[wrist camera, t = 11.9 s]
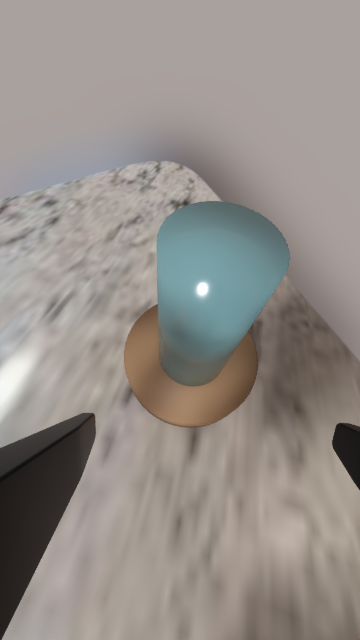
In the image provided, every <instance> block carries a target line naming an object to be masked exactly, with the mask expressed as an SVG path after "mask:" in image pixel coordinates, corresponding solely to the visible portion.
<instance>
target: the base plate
mask: <svg viewBox="0 0 360 640" xmlns="http://www.w3.org/2000/svg"><path fill="white" fill-rule="evenodd" d="M124 364H125V370H126V374H127V378H128V380H129V383H130V385H131V388H132V390H133V392H134V394H135V396H136V398H137V399H138V401H139V402H140V403H141V404H142V406H143V407H144V408H145V409H146V410H147V411H148V412H149V413H151V414H152V415H154V416H155V417H156V418H158V419H160V420H162V421H164V422H166V423H169V424H172V425H176V426H180V427H201V426H206V425H210V424H212V423H215V422H217V421H219V420H221V419H223V418H224V417H226V416H227V415H228V414H230V413H231V412H232V411H234V410H235V409H236V408H238V407H239V406H240V405H241V404H242V403H243V402H244V400H245V399H246V398H247V396H248V395H249V393H250V391H251V389H252V387H253V385H254V382H255V379H256V375H257V369H258V359H257V351H256V347H255V344H254V341H253V339H252V336H251V335H250V333H249V331H248V332H247V333H246V335H245V336H244V338H243V339H242V341H241V342H240V344H239V345H238V347H237V348H236V350H235V351H234V353H233V354H232V356H231V357H230V359H229V360H228V362H227V363H226V365H225V367H224V368H223V370H222V371H221V373H220V374H219V375H218V376H217V377H216V378H215V379H214V380H213V381H211V382H210V383H208V384H205V385H202V386H194V387H193V386H185V385H182V384H179V383H177V382H175V381H174V380H172V379H171V378H170V377H169V376H168V375H167V374H166V373H165V372H164V370H163V368H162V366H161V364H160V361H159V348H158V304H157V305H155V306H153V307H152V308H150V309H149V310H147V311H146V312H145V313H144V314H143V315H142V316H141V317H140V318H139V319H138V320H137V321H136V322H135V324H134V325H133V327H132V329H131V331H130V333H129V335H128V338H127V341H126V344H125V350H124Z"/></svg>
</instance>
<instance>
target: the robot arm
mask: <svg viewBox="0 0 360 640" xmlns="http://www.w3.org/2000/svg"><path fill="white" fill-rule="evenodd" d="M95 435H96V427H95V415H94V414H93V413H82V414H80V415H77V416H75V417H73V418H70V419H68V420H65V421H63V422H61V423H58V424H56V425H54V426H51V427H49V428H47V429H44V430H42V431H40V432H37V433H35V434H33V435H30V436H28V437H25V438H23V439H21V440H18V441H16V442H14V443H11V444H9V445H7V446H4V447H2V448H0V640H2V638H3V636H4V633H5V631H6V629H7V627H8V625H9V623H10V621H11V619H12V617H13V615H14V613H15V611H16V609H17V607H18V605H19V603H20V601H21V599H22V597H23V595H24V593H25V591H26V589H27V587H28V585H29V583H30V581H31V579H32V577H33V575H34V573H35V570H36V568H37V566H38V564H39V562H40V560H41V558H42V556H43V554H44V552H45V550H46V548H47V546H48V544H49V542H50V540H51V538H52V536H53V534H54V532H55V530H56V528H57V526H58V524H59V522H60V520H61V518H62V516H63V514H64V512H65V510H66V507H67V505H68V503H69V501H70V499H71V497H72V495H73V493H74V491H75V489H76V487H77V485H78V483H79V481H80V479H81V477H82V474H83V471H84V469H85V466H86V463H87V460H88V457H89V455H90V452H91V449H92V446H93V443H94V440H95ZM332 445H333V449H334V451H335V452H336V454H337V455H338V457H339V459H340V460H341V462H342V464H343V465H344V467H345V468H346V470H347V472H348V473H349V475H350V476H351V478H352V480H353V481H354V483H355V484H356V486H357V487H358V489H359V490H360V427H358V426H355V425H352V424H349V423H338V424H337V425H336V428H335V432H334V436H333V440H332Z"/></svg>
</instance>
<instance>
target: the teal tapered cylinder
mask: <svg viewBox="0 0 360 640" xmlns="http://www.w3.org/2000/svg"><path fill="white" fill-rule="evenodd" d="M289 259H290V257H289V249H288V245H287V243H286V240H285V238H284V237H283V235H282V233H281V232H280V231H279V230H278V228H277V227H276V226H275V225H274V224H273V223H272V222H270V221H269V220H268V219H267V218H265V217H264V216H262V215H261V214H259V213H257V212H255V211H253V210H251V209H249V208H246V207H244V206H241V205H237V204H233V203H228V202H219V201H207V202H199V203H194V204H190V205H187V206H184V207H182V208H180V209H178V210H176V211H175V212H173V213H172V214H171V215H170V216H169V217H167V218H166V220H165V221H164V222H163V224H162V225H161V227H160V229H159V232H158V235H157V287H158V348H159V361H160V364H161V366H162V368H163V370H164V372H165V373H166V374H167V375H168V376H169V377H170V378H171V379H172V380H174V381H175V382H177V383H179V384H182V385H185V386H193V387H194V386H202V385H205V384H208V383H210V382H211V381H213V380H214V379H215V378H216V377H217V376H218V375H219V374H220V373H221V371H222V370H223V368H224V367H225V365H226V363H227V362H228V360H229V359H230V357H231V356H232V354H233V353H234V351H235V350H236V348H237V347H238V345H239V344H240V342H241V341H242V339H243V338H244V336H245V335H246V333H247V332H248V330H249V329H250V327H251V326H252V324H253V322H254V321H255V319H256V318H257V316H258V315H259V313H260V312H261V310H262V309H263V307H264V306H265V304H266V303H267V301H268V300H269V298H270V297H271V295H272V294H273V292H274V291H275V289H276V288H277V286H278V285H279V283H280V281H281V280H282V278H283V277H284V275H285V273H286V271H287V269H288V266H289Z"/></svg>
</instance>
